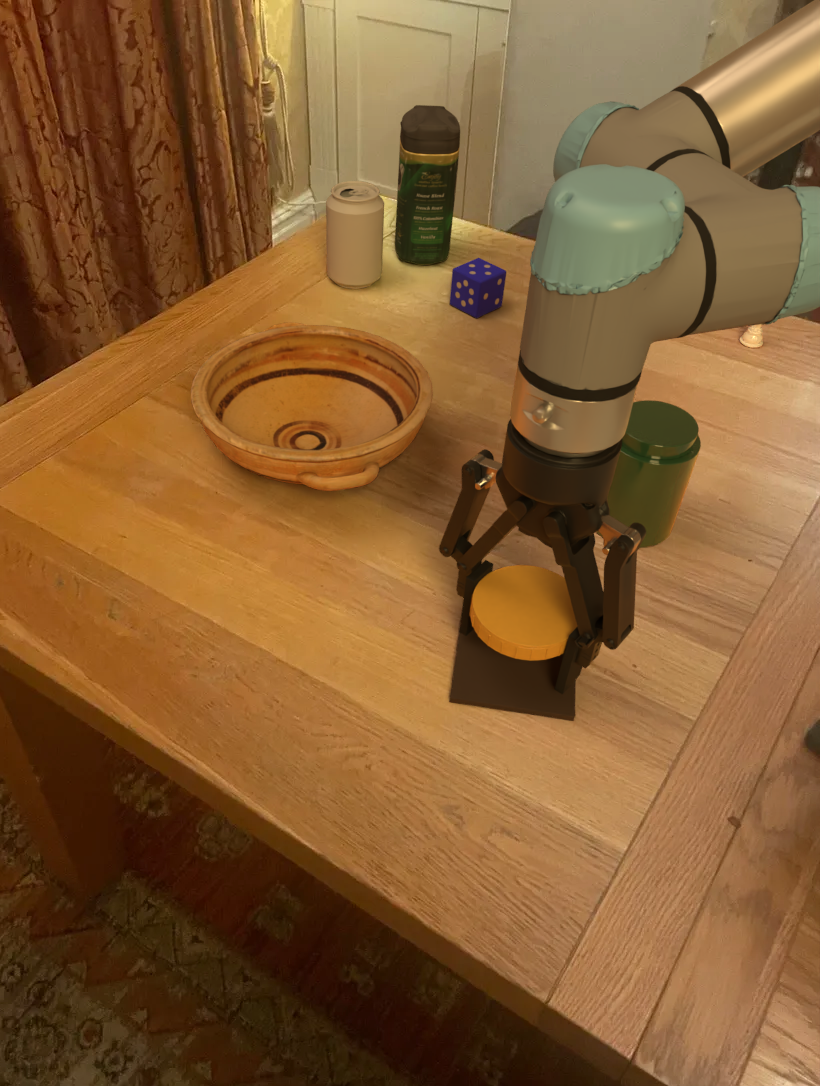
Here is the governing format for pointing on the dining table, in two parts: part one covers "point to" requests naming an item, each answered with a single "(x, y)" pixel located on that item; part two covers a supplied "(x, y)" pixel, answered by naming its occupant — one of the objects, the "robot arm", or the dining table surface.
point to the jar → (654, 468)
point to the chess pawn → (753, 336)
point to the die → (477, 287)
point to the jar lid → (523, 612)
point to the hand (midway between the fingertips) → (518, 652)
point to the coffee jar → (426, 184)
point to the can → (354, 234)
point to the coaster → (508, 681)
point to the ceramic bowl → (312, 403)
